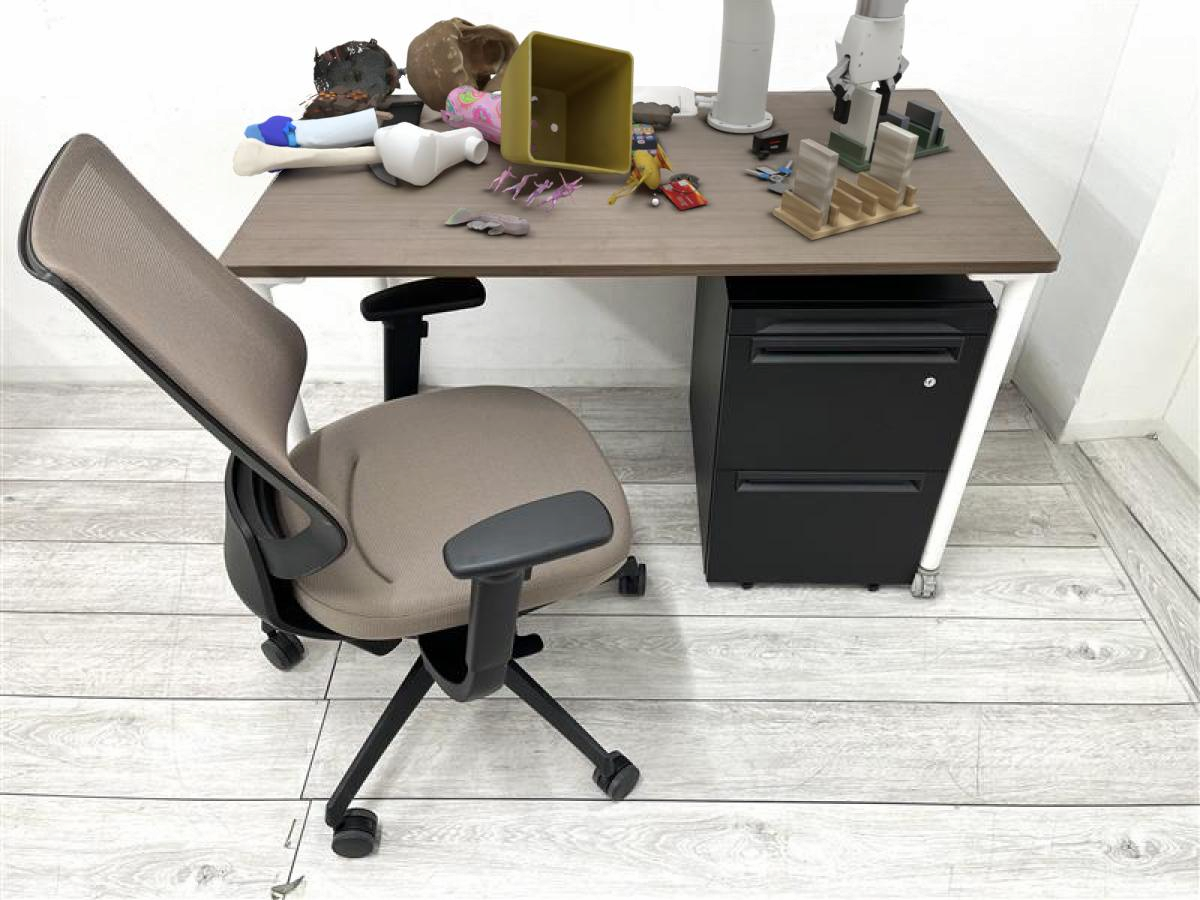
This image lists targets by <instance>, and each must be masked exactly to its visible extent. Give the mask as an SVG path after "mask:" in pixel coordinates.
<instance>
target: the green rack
mask: <svg viewBox="0 0 1200 900" xmlns="http://www.w3.org/2000/svg"><path fill="white" fill-rule="evenodd" d="M943 112H944V110H941V109H939V108H938V107H934V106H933V105H930V104H927V103H925V102H923V101H920V100H918V99H910V100H908V101H907V103H906V108H905V112H904V114H902V113H900V112H898V111H896V110H893V109H891V108H889V107H888V111H887V115H886V116H881V115H879V114H878V118H877V123H876V128H875V133H874V138H873V143H872V148H871V153H870V158H869V160H866V161H864V160H865V155H866V150H867V146H865V145H863V144H861V143H859V142H857V141H855V140H853V139H851V138H849V137H847V136H845V135H843V134H841V133H839V131H836V130H835V129H833V130H829V131H830V132H829V138H828V144H827V146H825V147H826V148H828V149H830V150H832V151H834V152H836V153H838V154H839V157H838V163H839V164H841V165H843V166H845V167H847V168H848V169H850V170H851V171H854V172H856V173H860V172H864V171H867V170H870V167H871V162H872V157H873V152H874V147H875V142H876V138H877V133H878V128H879V123H883V122H889V123H891V124H893V125H895V126H898V127H900V128H902V129H904V130H906V131H908V132H911V133H913V134H915V135H917V136H919V137H918V141H917V145H916V150H915V154H914V158H913V160H914V159H918V158H922V157H923V158H924V157H926V156H931V155H935V154H939V153H943V152H947V151H949V149H950V148H949V147H950V145H949V144H947V143H945V140H946V136H947V132H948V131H947V130H948V128H946V127H945V126H942V125H941V119H942V117H943V116H942V115H943Z"/></svg>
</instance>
